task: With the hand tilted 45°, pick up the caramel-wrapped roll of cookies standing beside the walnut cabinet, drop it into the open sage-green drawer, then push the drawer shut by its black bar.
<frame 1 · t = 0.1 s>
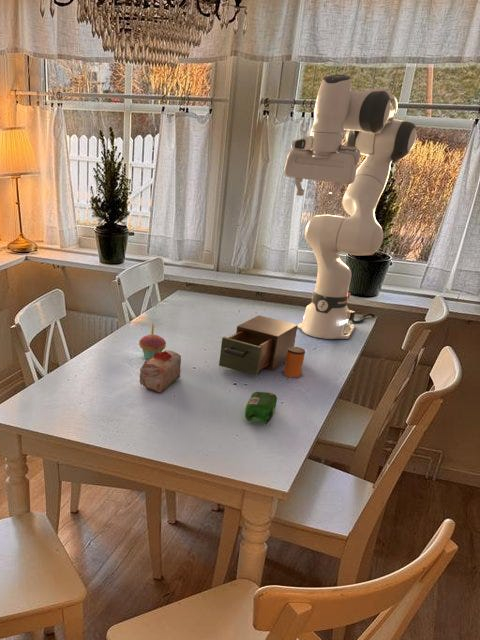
hand: (315, 197, 188), 48 cm above the table, tool pointing down, fingers open, 8 cm apart
food item: (159, 384, 190), on the table
cabinet: (262, 358, 211), on the table
drawer: (246, 352, 199), point 5 cm above the table, slide at 9.0 cm
snack package: (259, 417, 174), on the table
cookie roll: (292, 374, 200), on the table
cupcake: (151, 357, 208), on the table
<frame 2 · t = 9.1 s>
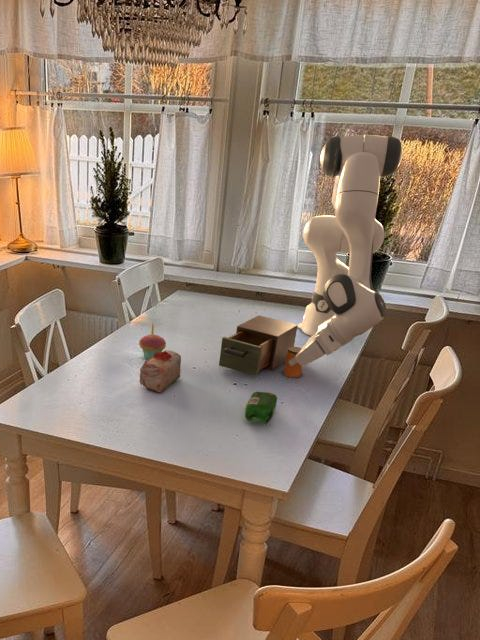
hand: (292, 360, 198), 4 cm above the table, tool tilted 45°, fingers closed on cookie roll, 5 cm apart
cookie roll: (292, 374, 200), on the table, touching gripper
everything else where it was.
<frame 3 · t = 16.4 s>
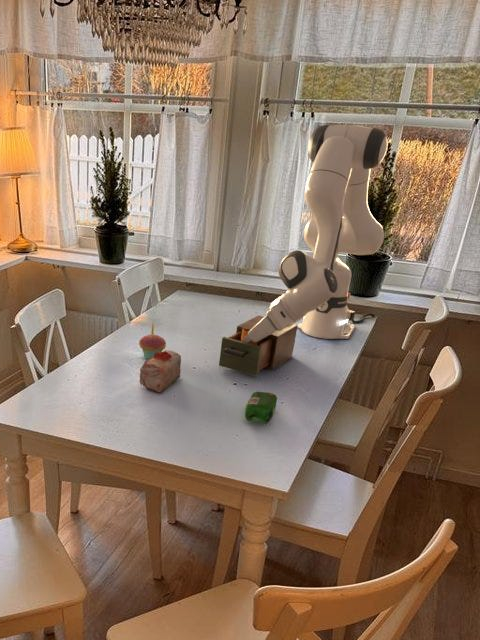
hand: (247, 337, 198), 10 cm above the table, tool tilted 45°, fingers closed on cookie roll, 5 cm apart
cookie roll: (247, 352, 200), point 5 cm above the table, touching gripper
everything else where it was.
when the fingers open (13 cm above the table, at t = 31.4 s): cookie roll drops 6 cm, resting on drawer.
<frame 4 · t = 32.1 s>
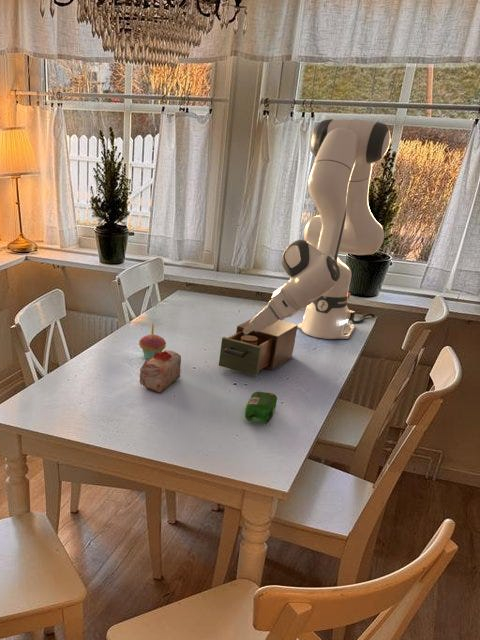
hand: (249, 328, 196), 13 cm above the table, tool tilted 45°, fingers open, 8 cm apart
drawer: (246, 352, 199), point 5 cm above the table, slide at 9.1 cm, touching cookie roll
cookie roll: (245, 362, 201), point 2 cm above the table, touching drawer
everything else where it was.
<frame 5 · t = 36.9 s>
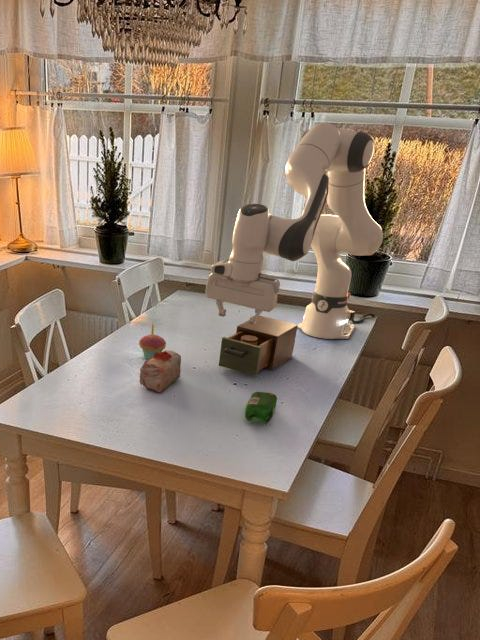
hand: (237, 319, 184), 19 cm above the table, tool pointing down, fingers open, 8 cm apart
nothing on the table moved.
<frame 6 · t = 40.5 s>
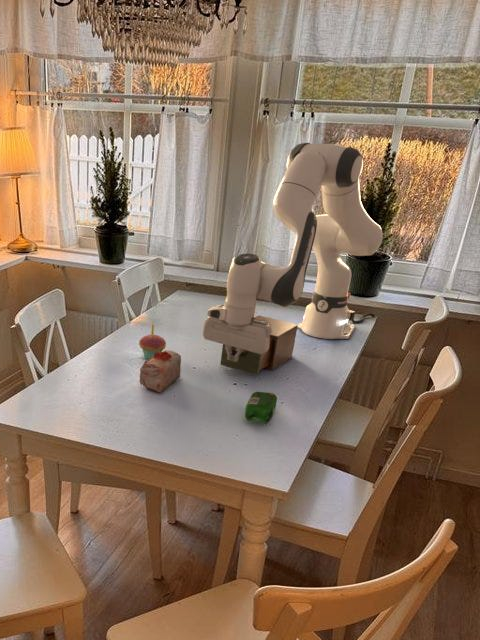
hand: (232, 360, 193), 5 cm above the table, tool pointing down, fingers closed, pressing on drawer
drawer: (247, 351, 200), point 5 cm above the table, slide at 8.0 cm, touching cookie roll, gripper
cookie roll: (247, 361, 202), point 2 cm above the table, touching drawer
everything else where it was.
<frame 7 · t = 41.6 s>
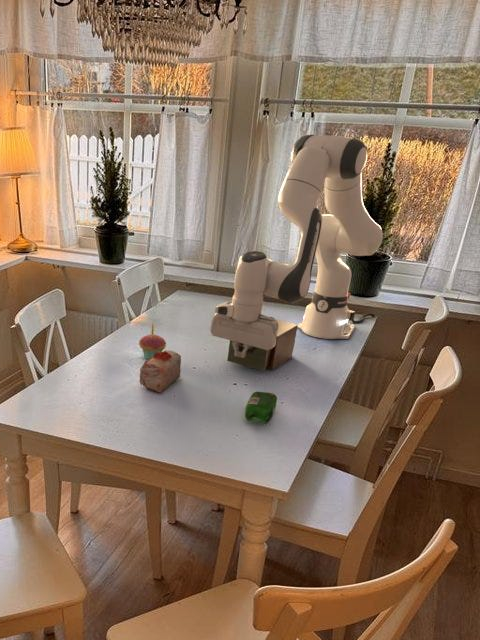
hand: (239, 356, 196), 5 cm above the table, tool pointing down, fingers closed, pressing on drawer
drawer: (254, 348, 203), point 5 cm above the table, slide at 3.6 cm, touching cookie roll, gripper
cookie roll: (254, 357, 205), point 2 cm above the table, touching drawer
everything else where it was.
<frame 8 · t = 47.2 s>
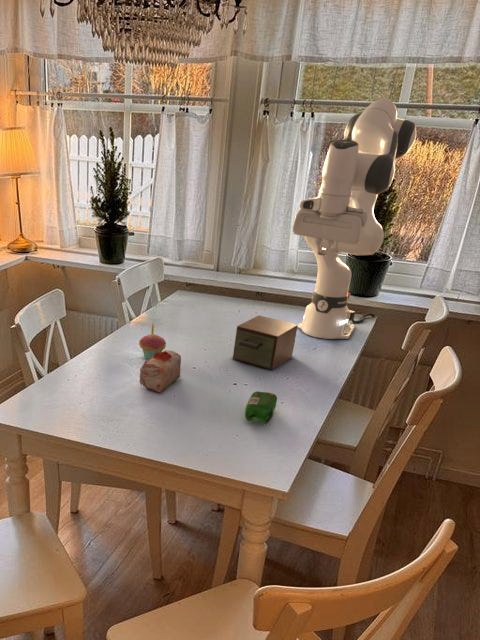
hand: (322, 255, 192), 33 cm above the table, tool pointing down, fingers closed
drawer: (259, 345, 205), point 5 cm above the table, slide at 0.0 cm, touching cookie roll
cookie roll: (259, 354, 208), point 2 cm above the table, touching cabinet, drawer
everything else where it was.
at the end: cookie roll inside the target area in the cabinet (2.0 cm from its centre), point 2.1 cm above the cabinet's base; drawer slide at 0.0 cm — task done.
